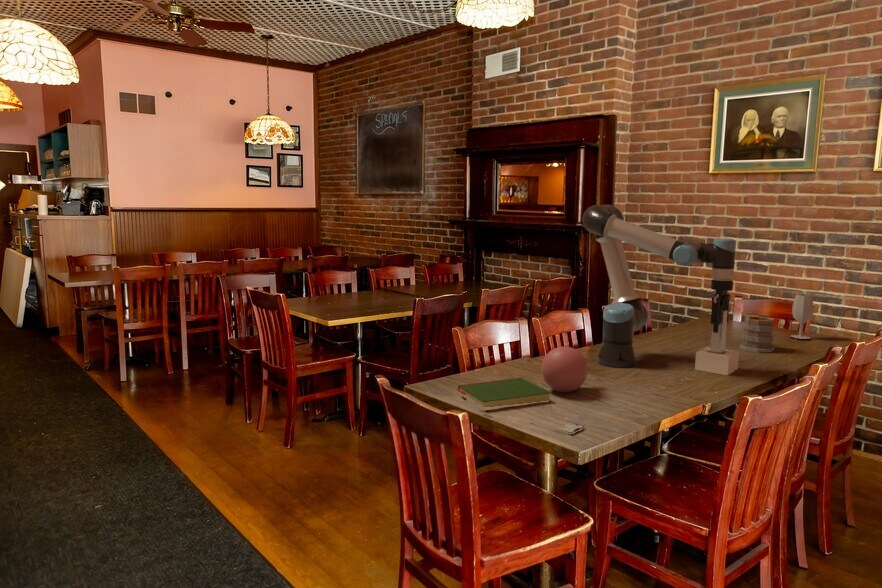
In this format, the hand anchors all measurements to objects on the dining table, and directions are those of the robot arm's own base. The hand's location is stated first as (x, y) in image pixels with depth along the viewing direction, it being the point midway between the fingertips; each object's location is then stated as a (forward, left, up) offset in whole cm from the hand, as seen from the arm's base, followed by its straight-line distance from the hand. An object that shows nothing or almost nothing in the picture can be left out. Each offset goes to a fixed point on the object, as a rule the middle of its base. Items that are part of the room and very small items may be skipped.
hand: (718, 339), depth 238 cm
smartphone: (-95, +13, -12) cm, 97 cm away
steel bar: (0, 0, -9) cm, 9 cm away
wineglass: (+84, -10, -12) cm, 85 cm away
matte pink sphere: (-62, +28, -12) cm, 69 cm away
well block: (0, 0, -12) cm, 12 cm away
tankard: (+49, +1, -12) cm, 50 cm away
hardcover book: (-85, +39, -13) cm, 94 cm away
